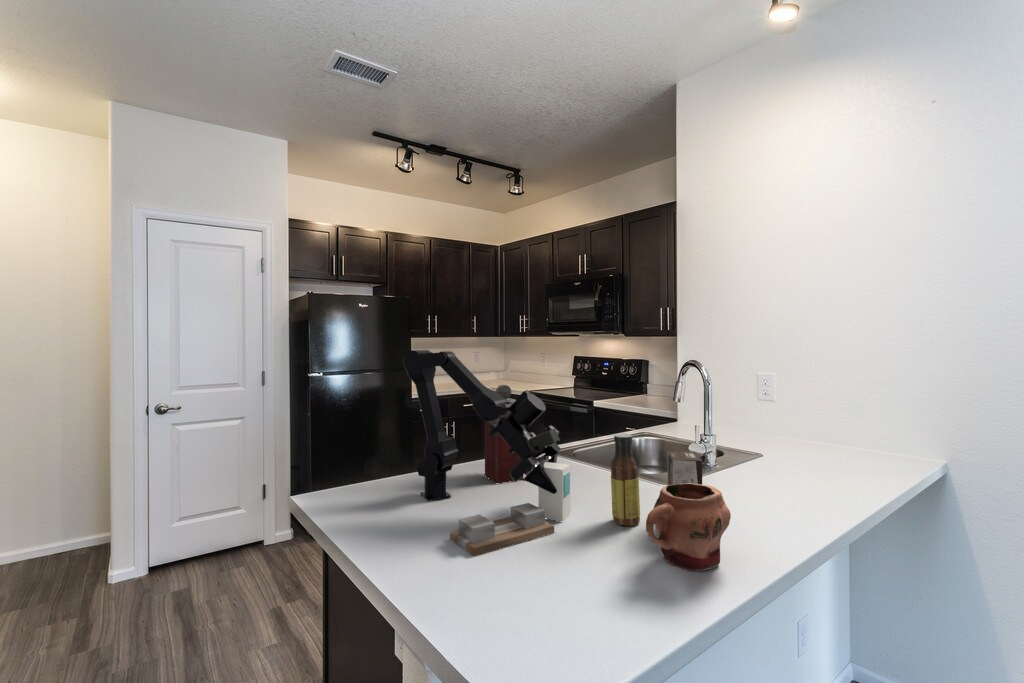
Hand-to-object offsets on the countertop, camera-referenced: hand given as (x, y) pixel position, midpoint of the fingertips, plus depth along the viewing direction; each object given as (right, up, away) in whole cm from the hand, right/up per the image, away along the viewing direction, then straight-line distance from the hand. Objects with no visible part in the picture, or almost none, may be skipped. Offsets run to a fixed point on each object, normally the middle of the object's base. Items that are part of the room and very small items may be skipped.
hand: (559, 489), depth 116 cm
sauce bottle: (+15, -7, -3) cm, 16 cm away
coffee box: (+27, -7, -6) cm, 28 cm away
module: (-1, -7, +1) cm, 7 cm away
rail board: (-13, -7, -11) cm, 18 cm away
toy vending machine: (-14, -6, +34) cm, 37 cm away
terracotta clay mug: (+21, -7, -24) cm, 33 cm away
